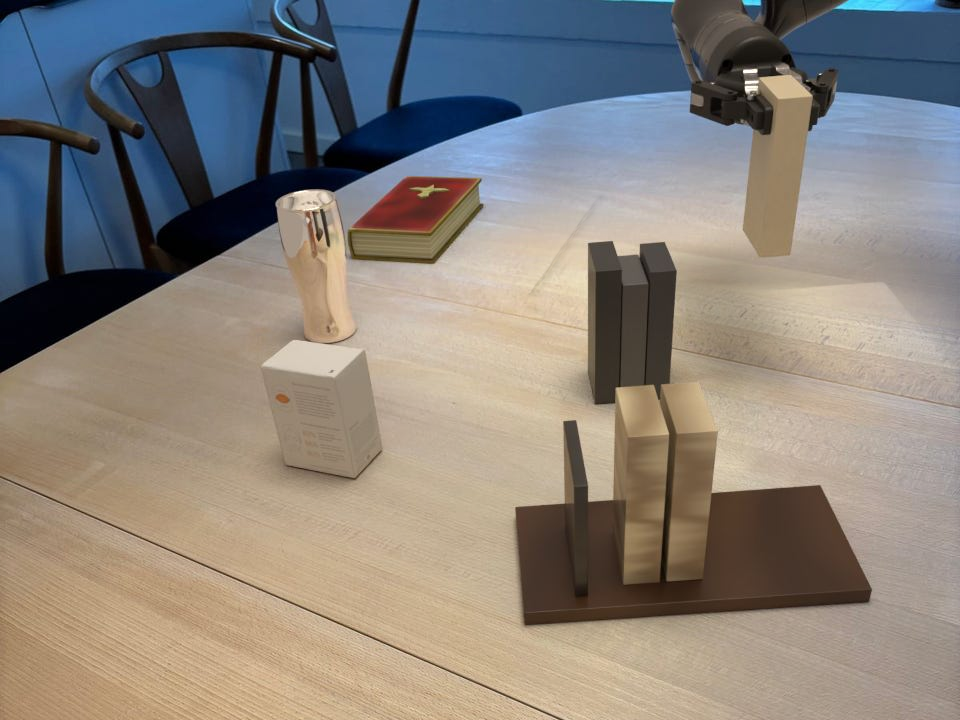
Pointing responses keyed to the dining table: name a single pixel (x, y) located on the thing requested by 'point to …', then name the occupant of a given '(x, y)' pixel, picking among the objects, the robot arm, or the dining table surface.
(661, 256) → the grey books
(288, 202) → the beer glass
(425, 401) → the dining table surface
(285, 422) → the small box
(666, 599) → the shelf
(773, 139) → the cream book
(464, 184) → the hardcover book
